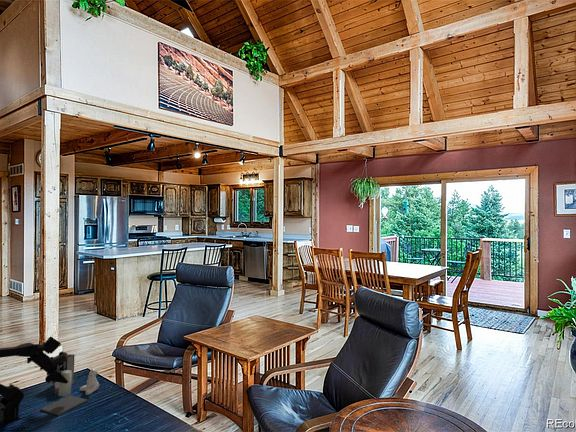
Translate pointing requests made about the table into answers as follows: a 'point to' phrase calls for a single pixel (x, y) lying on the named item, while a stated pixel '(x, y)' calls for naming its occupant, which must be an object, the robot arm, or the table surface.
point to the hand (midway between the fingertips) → (68, 380)
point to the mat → (63, 405)
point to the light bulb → (63, 387)
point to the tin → (56, 388)
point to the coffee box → (69, 366)
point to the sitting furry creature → (91, 383)
